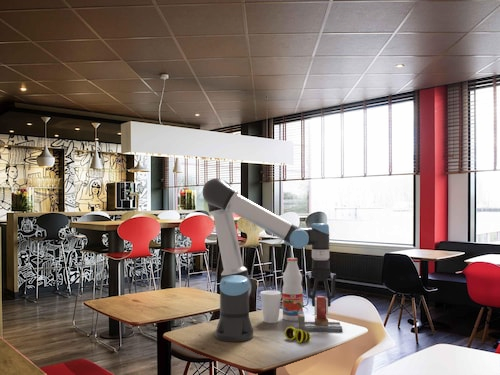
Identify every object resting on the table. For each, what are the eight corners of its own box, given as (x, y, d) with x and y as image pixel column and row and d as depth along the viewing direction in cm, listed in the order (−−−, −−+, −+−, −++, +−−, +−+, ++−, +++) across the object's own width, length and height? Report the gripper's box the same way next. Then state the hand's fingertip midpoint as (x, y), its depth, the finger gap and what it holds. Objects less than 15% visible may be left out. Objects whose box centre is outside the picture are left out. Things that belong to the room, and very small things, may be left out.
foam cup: (265, 324, 189) (265, 294, 189) (257, 319, 197) (257, 291, 198) (284, 322, 192) (284, 293, 193) (276, 317, 201) (276, 289, 201)
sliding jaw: (316, 325, 178) (316, 298, 179) (314, 320, 186) (314, 294, 187) (328, 325, 178) (328, 298, 179) (326, 320, 186) (326, 295, 187)
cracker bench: (298, 331, 178) (298, 316, 178) (297, 325, 188) (297, 311, 188) (342, 332, 176) (342, 317, 177) (339, 325, 186) (339, 311, 187)
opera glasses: (310, 344, 164) (312, 331, 164) (301, 344, 160) (303, 330, 161) (292, 338, 171) (294, 325, 172) (283, 338, 168) (285, 325, 169)
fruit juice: (303, 316, 203) (302, 257, 204) (302, 321, 194) (302, 259, 195) (283, 316, 204) (282, 257, 206) (281, 321, 195) (281, 259, 196)
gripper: (301, 259, 181) (301, 316, 179) (341, 260, 179) (342, 316, 178) (300, 258, 188) (300, 311, 187) (339, 258, 187) (340, 312, 186)
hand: (321, 314), depth 182 cm, fingers closed on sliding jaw, 4 cm apart
